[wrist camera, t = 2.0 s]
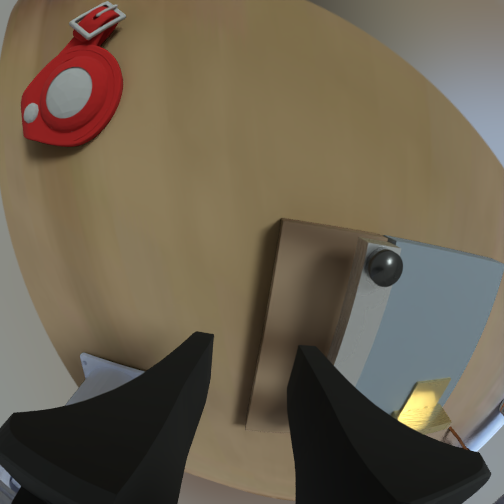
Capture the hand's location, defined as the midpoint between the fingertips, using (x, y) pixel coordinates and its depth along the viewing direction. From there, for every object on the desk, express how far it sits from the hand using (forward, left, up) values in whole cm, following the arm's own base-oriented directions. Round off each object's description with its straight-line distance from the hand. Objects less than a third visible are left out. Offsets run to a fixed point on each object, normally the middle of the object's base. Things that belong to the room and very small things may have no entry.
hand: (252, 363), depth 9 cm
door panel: (-5, -15, -9) cm, 18 cm away
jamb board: (-5, -4, -9) cm, 12 cm away
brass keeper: (-9, -17, -7) cm, 21 cm away
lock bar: (-3, -6, -6) cm, 9 cm away
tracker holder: (+14, +15, -10) cm, 22 cm away
